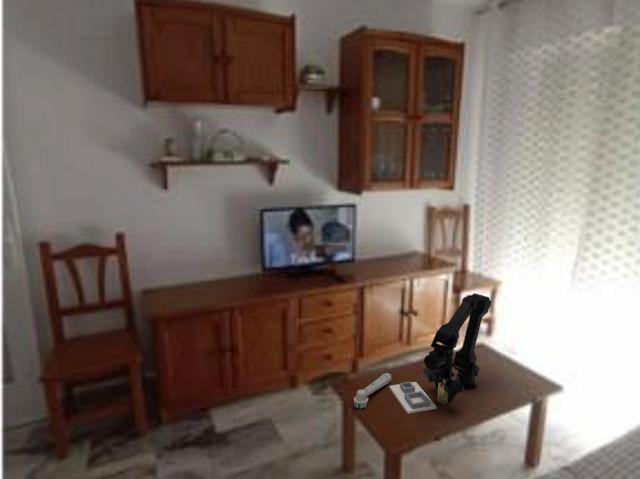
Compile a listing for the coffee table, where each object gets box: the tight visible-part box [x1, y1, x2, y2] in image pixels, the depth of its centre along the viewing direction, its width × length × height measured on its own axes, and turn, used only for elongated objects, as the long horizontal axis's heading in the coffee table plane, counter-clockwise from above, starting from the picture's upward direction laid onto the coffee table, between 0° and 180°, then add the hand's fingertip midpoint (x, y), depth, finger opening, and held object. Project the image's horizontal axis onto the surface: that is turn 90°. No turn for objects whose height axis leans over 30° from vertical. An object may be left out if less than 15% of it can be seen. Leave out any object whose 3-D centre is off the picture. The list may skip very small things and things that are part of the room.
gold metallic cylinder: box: [436, 379, 449, 405], centre depth 175 cm, size 4×4×8 cm
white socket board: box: [388, 381, 437, 415], centre depth 178 cm, size 12×18×3 cm, turn 14°
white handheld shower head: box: [353, 372, 393, 409], centre depth 181 cm, size 5×7×25 cm
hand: (443, 395), depth 175 cm, fingers open, 9 cm apart
